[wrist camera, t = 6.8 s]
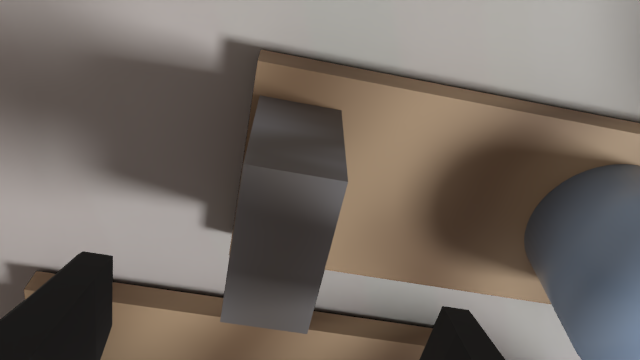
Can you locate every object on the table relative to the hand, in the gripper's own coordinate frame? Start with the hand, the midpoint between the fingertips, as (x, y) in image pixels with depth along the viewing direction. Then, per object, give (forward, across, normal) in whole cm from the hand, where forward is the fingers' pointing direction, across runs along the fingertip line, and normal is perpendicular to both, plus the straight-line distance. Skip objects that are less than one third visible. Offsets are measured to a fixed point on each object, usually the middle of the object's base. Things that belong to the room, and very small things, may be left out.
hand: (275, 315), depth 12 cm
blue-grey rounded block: (+6, -10, 0) cm, 12 cm away
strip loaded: (+7, -6, 0) cm, 10 cm away
